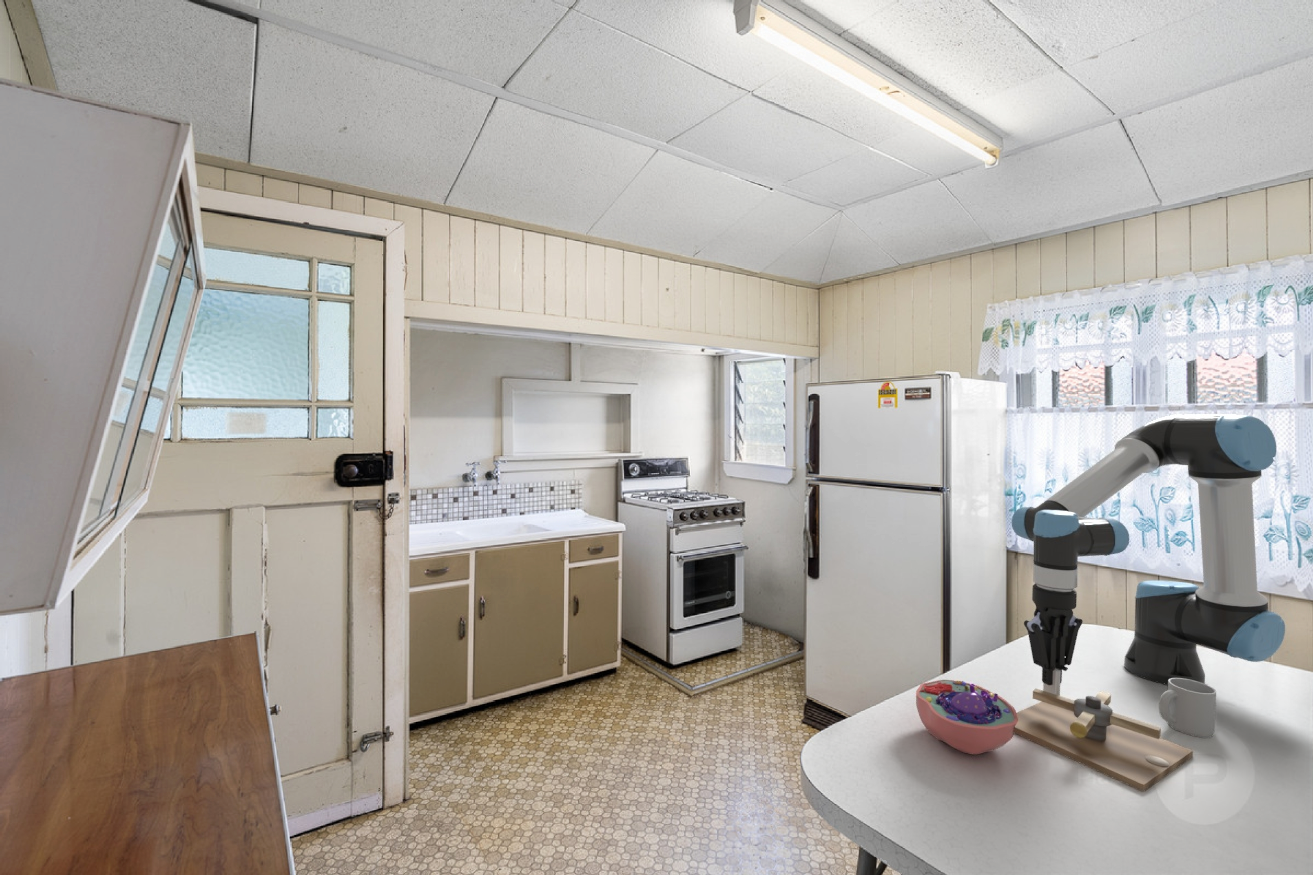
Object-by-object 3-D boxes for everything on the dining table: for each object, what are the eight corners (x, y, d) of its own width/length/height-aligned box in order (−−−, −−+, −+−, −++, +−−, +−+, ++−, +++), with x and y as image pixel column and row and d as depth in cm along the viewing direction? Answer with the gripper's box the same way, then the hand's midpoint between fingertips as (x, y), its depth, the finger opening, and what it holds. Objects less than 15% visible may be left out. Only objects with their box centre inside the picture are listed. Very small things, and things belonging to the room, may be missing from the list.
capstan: (1048, 685, 128) (1049, 667, 128) (1169, 722, 113) (1169, 702, 113) (1014, 717, 114) (1015, 697, 114) (1147, 764, 99) (1148, 741, 99)
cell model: (1000, 725, 119) (1002, 670, 119) (1027, 782, 100) (1029, 717, 100) (910, 710, 125) (912, 658, 125) (920, 762, 106) (921, 700, 106)
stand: (1052, 701, 130) (1053, 683, 130) (1192, 756, 109) (1193, 734, 109) (999, 725, 119) (999, 705, 119) (1143, 791, 98) (1144, 767, 98)
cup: (1224, 738, 116) (1226, 694, 115) (1175, 738, 115) (1177, 693, 115) (1190, 719, 123) (1192, 677, 123) (1144, 719, 123) (1145, 677, 122)
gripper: (1061, 578, 125) (1058, 686, 126) (1013, 583, 122) (1011, 694, 123) (1096, 589, 118) (1093, 703, 119) (1046, 594, 115) (1042, 711, 116)
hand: (1051, 698), depth 121 cm, fingers closed
